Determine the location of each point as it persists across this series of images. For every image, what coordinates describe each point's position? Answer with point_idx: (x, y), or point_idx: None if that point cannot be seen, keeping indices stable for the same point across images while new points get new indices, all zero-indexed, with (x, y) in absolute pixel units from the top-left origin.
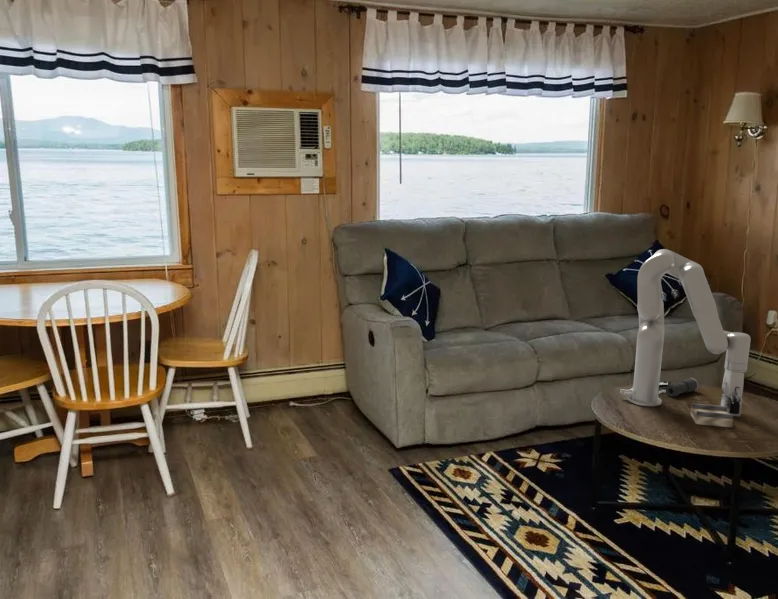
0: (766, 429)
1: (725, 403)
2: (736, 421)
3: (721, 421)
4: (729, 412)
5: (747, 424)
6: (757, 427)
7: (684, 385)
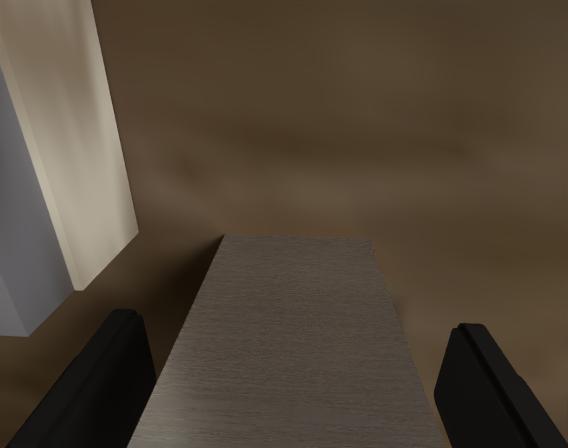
0: (5, 440)
1: (174, 359)
2: (69, 306)
3: None
4: (124, 310)
5: (39, 365)
6: (10, 406)
7: None
